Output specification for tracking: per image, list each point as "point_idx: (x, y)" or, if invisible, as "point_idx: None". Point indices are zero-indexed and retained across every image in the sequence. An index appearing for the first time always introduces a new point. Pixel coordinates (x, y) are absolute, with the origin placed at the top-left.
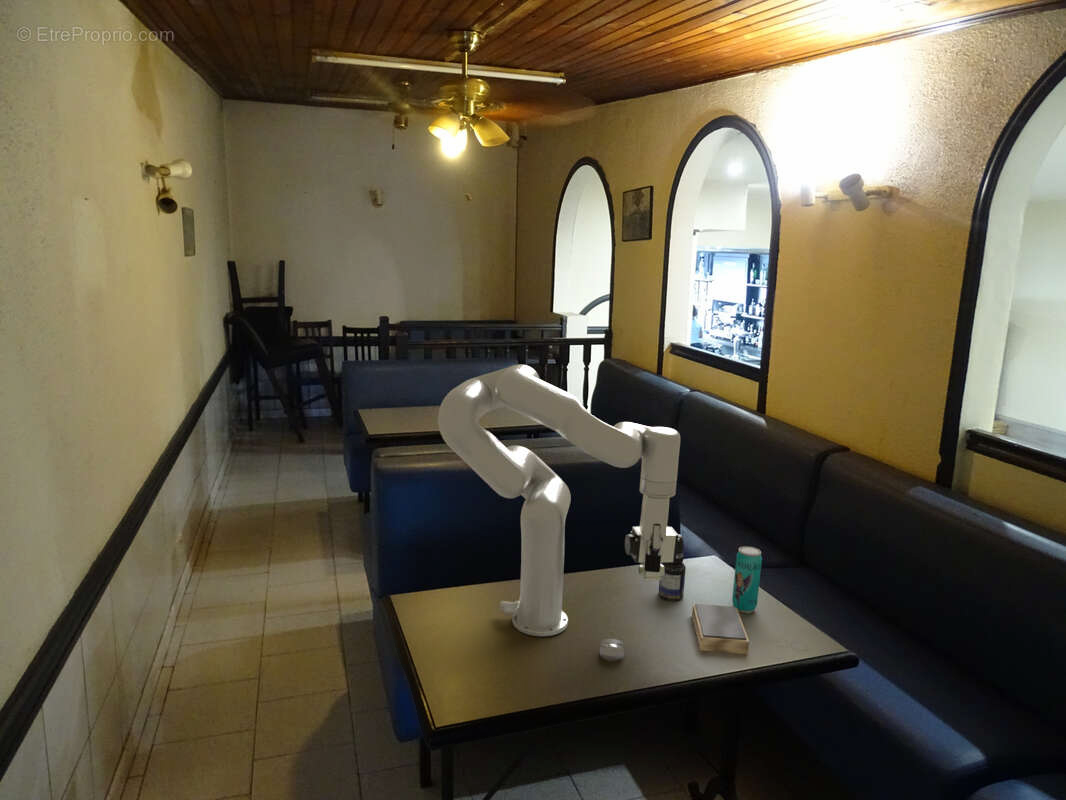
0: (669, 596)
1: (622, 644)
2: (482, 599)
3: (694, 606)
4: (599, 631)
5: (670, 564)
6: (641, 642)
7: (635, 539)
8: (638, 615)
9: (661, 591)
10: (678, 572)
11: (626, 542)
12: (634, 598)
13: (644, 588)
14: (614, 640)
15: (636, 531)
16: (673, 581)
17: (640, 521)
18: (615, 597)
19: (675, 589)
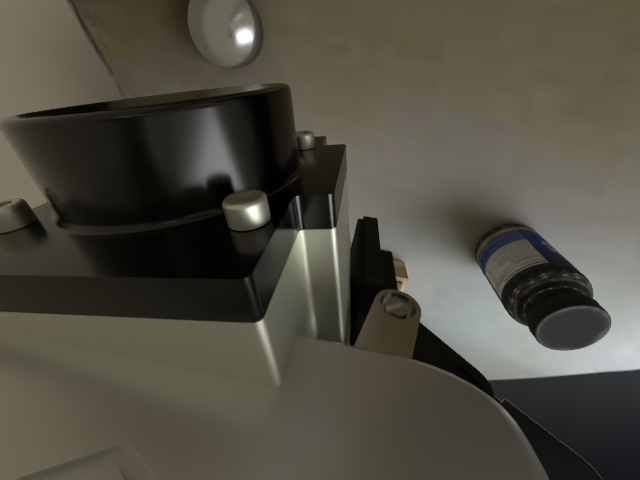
0: (484, 244)
1: (227, 61)
2: None
3: (397, 278)
4: (352, 7)
5: (539, 298)
6: (298, 128)
7: (3, 205)
8: (427, 149)
9: (508, 233)
10: (505, 300)
11: (206, 92)
12: (523, 158)
13: (570, 198)
14: (245, 38)
15: (34, 288)
16: (497, 273)
17: (435, 463)
18: (550, 100)
19: (486, 265)
